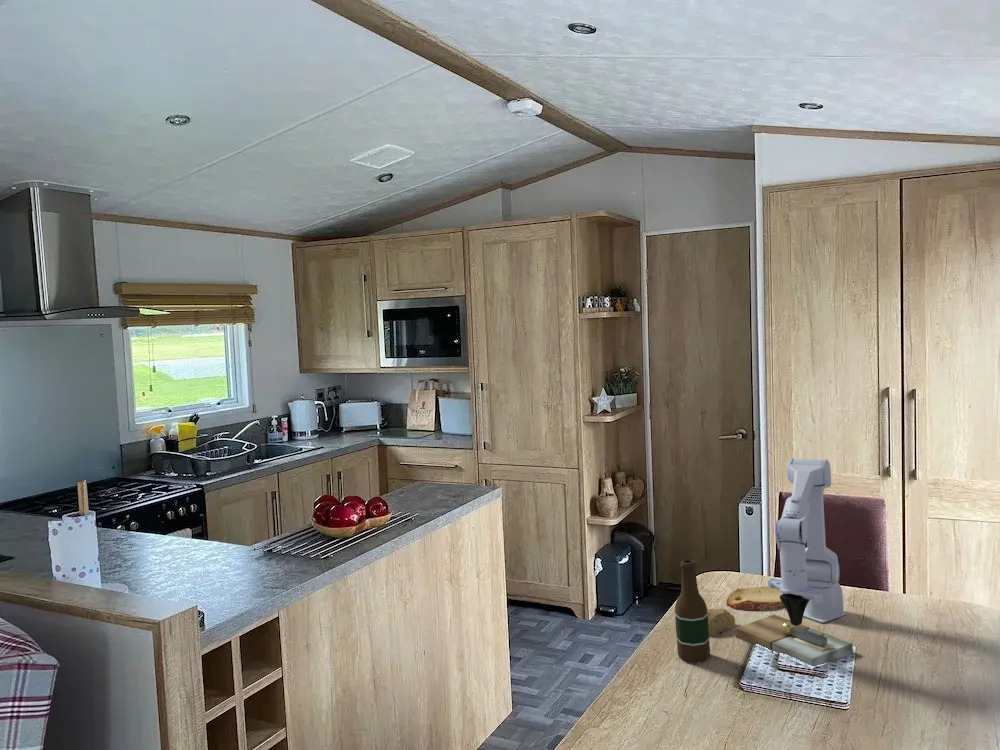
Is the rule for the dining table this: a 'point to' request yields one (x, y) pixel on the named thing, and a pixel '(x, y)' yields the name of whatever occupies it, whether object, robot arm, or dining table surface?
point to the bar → (803, 634)
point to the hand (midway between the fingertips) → (796, 624)
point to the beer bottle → (691, 618)
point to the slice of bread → (755, 599)
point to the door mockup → (793, 641)
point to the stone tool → (719, 620)
